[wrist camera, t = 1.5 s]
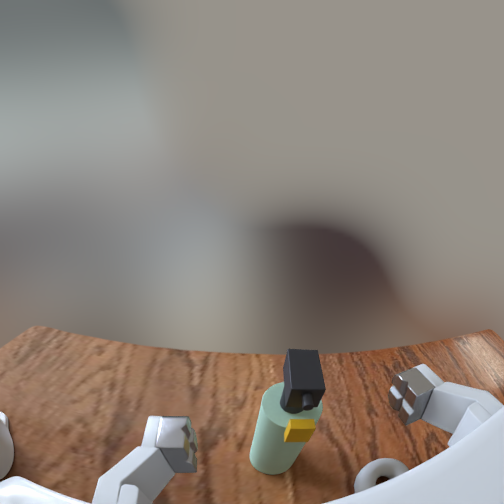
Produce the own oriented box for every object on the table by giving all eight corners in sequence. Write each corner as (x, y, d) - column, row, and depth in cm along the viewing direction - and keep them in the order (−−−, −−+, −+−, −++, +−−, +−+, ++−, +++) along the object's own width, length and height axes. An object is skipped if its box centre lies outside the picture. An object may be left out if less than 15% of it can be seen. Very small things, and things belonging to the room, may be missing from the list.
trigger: (284, 442, 22) (290, 428, 20) (284, 432, 23) (289, 418, 22) (307, 442, 22) (315, 428, 20) (307, 432, 23) (314, 418, 22)
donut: (410, 470, 27) (362, 456, 32) (421, 461, 26) (371, 447, 31) (394, 517, 19) (340, 503, 24) (406, 512, 18) (349, 498, 23)
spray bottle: (248, 479, 29) (269, 401, 20) (250, 437, 36) (269, 340, 27) (295, 479, 29) (348, 401, 20) (293, 439, 36) (332, 344, 27)
